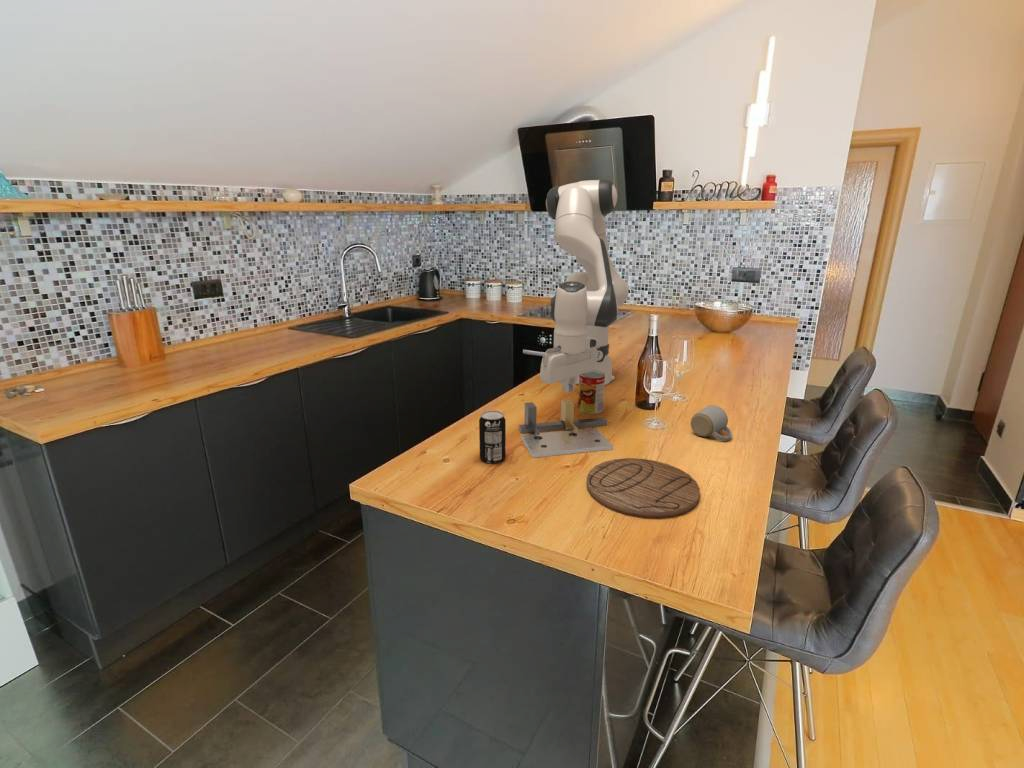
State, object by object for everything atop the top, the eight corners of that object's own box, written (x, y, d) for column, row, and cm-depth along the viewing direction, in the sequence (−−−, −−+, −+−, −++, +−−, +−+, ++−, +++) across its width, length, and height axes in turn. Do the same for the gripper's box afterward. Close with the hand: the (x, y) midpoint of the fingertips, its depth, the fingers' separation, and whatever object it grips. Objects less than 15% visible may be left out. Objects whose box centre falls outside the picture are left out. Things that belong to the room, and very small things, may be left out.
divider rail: (518, 429, 155) (518, 403, 153) (602, 421, 161) (604, 396, 159) (527, 443, 146) (527, 415, 144) (616, 434, 152) (618, 408, 149)
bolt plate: (521, 439, 149) (521, 434, 148) (595, 431, 153) (595, 427, 153) (532, 457, 138) (532, 453, 137) (612, 449, 142) (613, 445, 142)
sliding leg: (560, 423, 158) (561, 399, 156) (568, 423, 159) (569, 398, 156) (572, 437, 149) (573, 412, 146) (580, 436, 149) (581, 411, 147)
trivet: (717, 488, 124) (718, 480, 123) (666, 534, 106) (667, 526, 105) (622, 455, 139) (622, 449, 139) (564, 491, 122) (564, 484, 121)
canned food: (583, 403, 175) (585, 368, 172) (606, 408, 172) (608, 372, 168) (573, 411, 169) (575, 374, 165) (597, 416, 165) (599, 378, 161)
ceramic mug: (687, 433, 153) (690, 408, 150) (701, 426, 158) (705, 401, 155) (722, 445, 145) (726, 419, 143) (736, 437, 150) (740, 412, 148)
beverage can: (491, 450, 142) (491, 407, 138) (510, 457, 138) (510, 413, 134) (474, 459, 137) (473, 415, 133) (493, 466, 133) (493, 421, 129)
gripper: (552, 352, 137) (551, 403, 141) (602, 339, 150) (599, 386, 155) (534, 348, 141) (534, 397, 145) (584, 335, 154) (582, 381, 159)
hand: (568, 391), depth 150 cm, fingers closed
